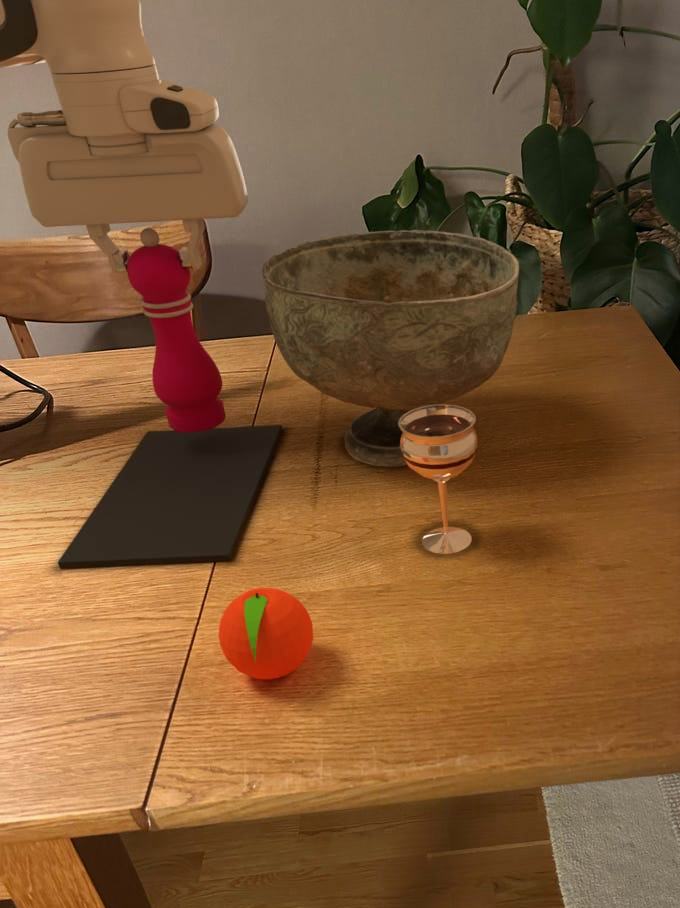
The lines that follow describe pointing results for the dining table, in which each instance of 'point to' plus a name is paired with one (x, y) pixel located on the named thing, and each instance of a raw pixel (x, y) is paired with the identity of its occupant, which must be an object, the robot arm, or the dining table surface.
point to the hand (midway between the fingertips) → (158, 269)
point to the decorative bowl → (392, 323)
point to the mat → (177, 499)
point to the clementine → (266, 633)
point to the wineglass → (440, 460)
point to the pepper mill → (175, 338)
